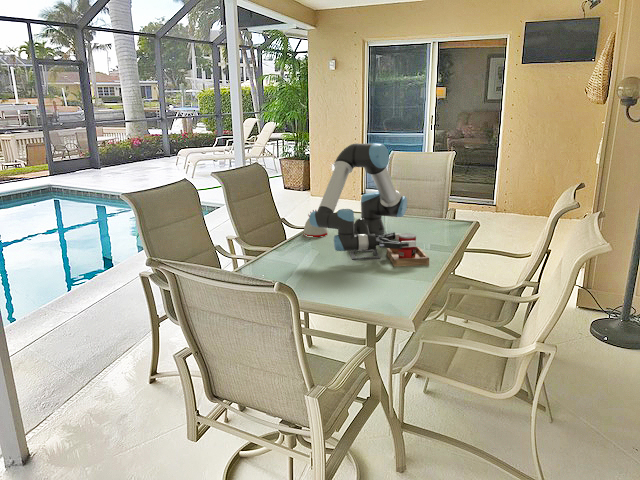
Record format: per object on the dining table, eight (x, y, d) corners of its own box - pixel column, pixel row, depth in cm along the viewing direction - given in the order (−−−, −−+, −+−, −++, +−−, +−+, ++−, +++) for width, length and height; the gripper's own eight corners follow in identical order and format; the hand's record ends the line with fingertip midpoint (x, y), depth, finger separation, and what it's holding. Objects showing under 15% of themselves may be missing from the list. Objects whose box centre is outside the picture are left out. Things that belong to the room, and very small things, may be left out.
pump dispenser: (373, 245, 258) (373, 217, 254) (366, 250, 249) (366, 221, 245) (355, 243, 262) (354, 215, 258) (347, 248, 253) (347, 220, 249)
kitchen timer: (330, 236, 279) (329, 210, 275) (306, 238, 276) (305, 212, 272) (324, 231, 292) (323, 206, 288) (301, 233, 289) (300, 208, 285)
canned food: (415, 260, 227) (416, 237, 225) (397, 259, 229) (398, 236, 226) (415, 255, 235) (416, 233, 232) (398, 255, 236) (399, 232, 233)
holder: (349, 251, 248) (349, 245, 247) (376, 250, 248) (376, 244, 247) (352, 259, 234) (351, 252, 233) (380, 258, 235) (380, 251, 234)
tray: (386, 254, 242) (386, 247, 241) (418, 252, 242) (418, 246, 241) (394, 266, 222) (394, 259, 221) (429, 264, 223) (429, 257, 222)
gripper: (363, 242, 242) (406, 240, 243) (371, 257, 218) (418, 255, 219) (363, 228, 240) (406, 226, 241) (371, 240, 216) (418, 238, 217)
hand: (412, 239), depth 230 cm, fingers open, 13 cm apart
